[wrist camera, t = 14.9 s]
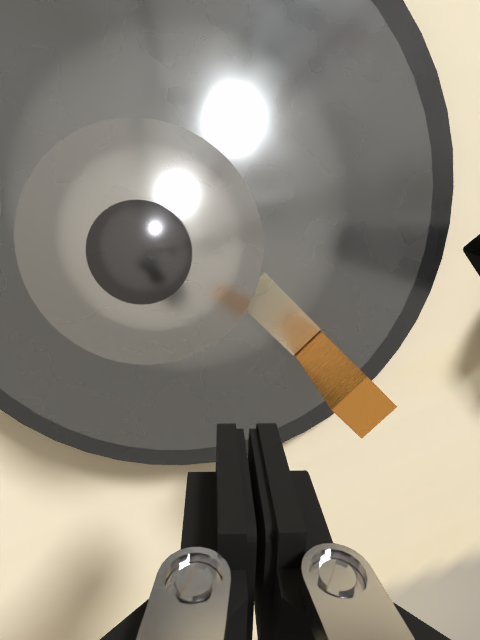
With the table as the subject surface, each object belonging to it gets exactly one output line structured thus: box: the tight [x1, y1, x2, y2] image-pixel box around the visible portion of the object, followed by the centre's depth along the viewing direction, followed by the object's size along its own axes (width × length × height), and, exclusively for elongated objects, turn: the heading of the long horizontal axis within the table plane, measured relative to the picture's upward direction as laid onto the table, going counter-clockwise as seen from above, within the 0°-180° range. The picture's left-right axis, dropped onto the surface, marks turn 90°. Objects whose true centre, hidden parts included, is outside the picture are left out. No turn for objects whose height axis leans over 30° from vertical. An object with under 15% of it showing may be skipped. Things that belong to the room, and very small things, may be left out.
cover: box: [14, 117, 264, 365], centre depth 13 cm, size 7×7×5 cm
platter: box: [0, 0, 433, 450], centre depth 14 cm, size 20×20×6 cm
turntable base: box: [0, 0, 453, 465], centre depth 18 cm, size 24×24×1 cm
